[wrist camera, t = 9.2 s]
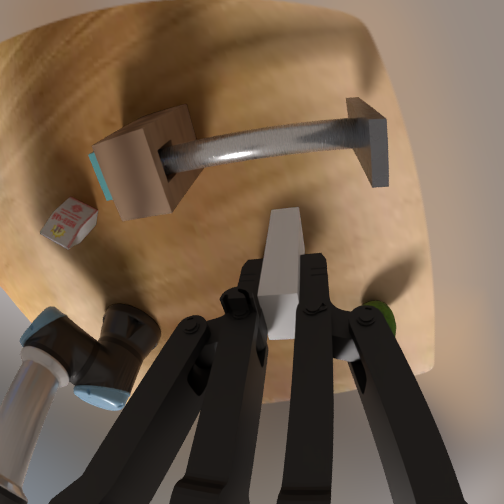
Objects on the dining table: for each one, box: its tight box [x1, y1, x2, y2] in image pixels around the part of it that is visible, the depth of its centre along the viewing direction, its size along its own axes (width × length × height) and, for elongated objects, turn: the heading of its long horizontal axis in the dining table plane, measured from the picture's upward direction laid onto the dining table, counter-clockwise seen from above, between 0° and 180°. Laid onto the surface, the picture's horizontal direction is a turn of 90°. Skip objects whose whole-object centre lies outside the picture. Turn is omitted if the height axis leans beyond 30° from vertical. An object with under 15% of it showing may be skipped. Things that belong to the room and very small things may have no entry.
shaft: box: [157, 97, 389, 188], centre depth 30 cm, size 26×6×12 cm, turn 102°
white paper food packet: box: [40, 197, 98, 250], centre depth 47 cm, size 4×7×10 cm, turn 65°
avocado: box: [362, 300, 396, 336], centre depth 51 cm, size 8×8×12 cm
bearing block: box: [92, 104, 204, 221], centre depth 36 cm, size 7×10×14 cm
